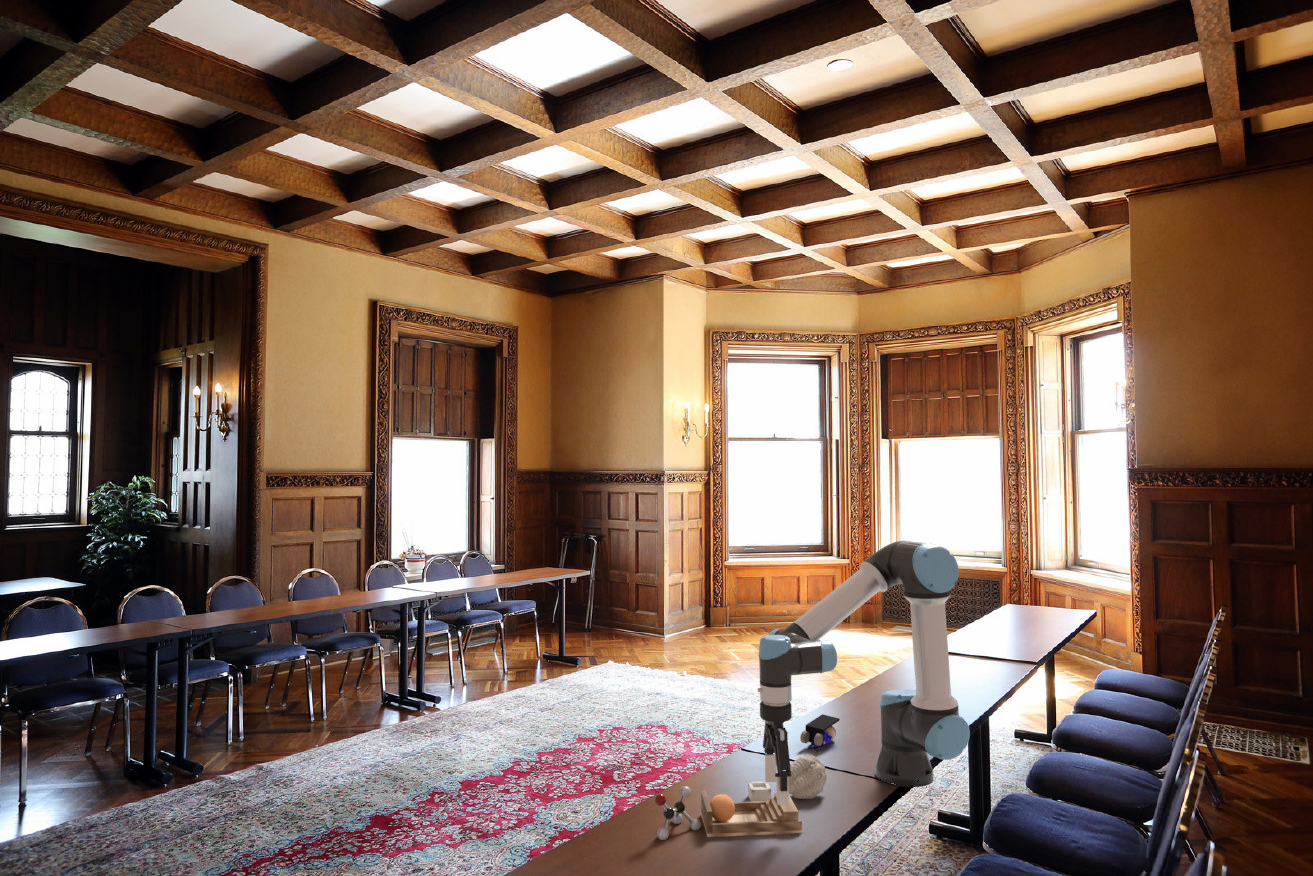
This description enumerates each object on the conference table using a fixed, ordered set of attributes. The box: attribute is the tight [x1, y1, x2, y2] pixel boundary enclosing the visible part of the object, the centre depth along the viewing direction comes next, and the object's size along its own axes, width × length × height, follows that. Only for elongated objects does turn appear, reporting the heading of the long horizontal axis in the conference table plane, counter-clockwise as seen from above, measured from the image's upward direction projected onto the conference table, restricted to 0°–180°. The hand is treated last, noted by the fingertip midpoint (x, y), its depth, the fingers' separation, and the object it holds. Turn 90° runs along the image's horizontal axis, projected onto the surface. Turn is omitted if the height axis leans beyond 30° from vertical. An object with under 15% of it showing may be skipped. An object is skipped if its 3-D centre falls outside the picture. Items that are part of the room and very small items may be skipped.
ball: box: [709, 793, 735, 822], centre depth 189 cm, size 6×6×6 cm
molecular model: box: [654, 785, 702, 841], centre depth 186 cm, size 8×12×11 cm
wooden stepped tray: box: [700, 790, 803, 838], centre depth 190 cm, size 22×12×6 cm, turn 94°
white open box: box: [747, 781, 772, 802], centre depth 204 cm, size 5×5×4 cm
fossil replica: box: [789, 754, 828, 800], centre depth 206 cm, size 12×8×10 cm
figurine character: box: [799, 714, 840, 752], centre depth 244 cm, size 7×8×15 cm
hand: (776, 792), depth 190 cm, fingers open, 13 cm apart
